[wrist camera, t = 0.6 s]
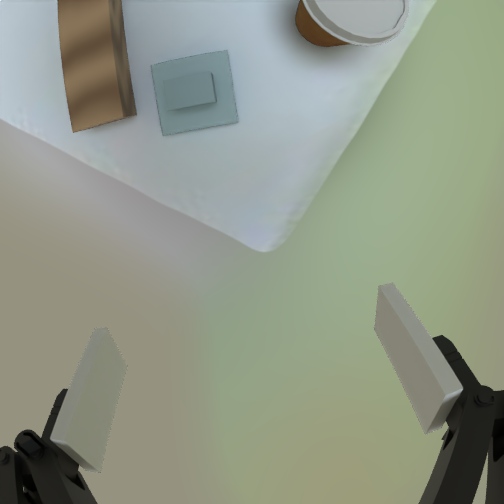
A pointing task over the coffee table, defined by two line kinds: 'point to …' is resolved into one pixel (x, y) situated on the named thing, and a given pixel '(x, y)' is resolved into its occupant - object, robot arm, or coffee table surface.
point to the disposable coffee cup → (351, 21)
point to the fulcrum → (194, 92)
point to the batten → (95, 62)
